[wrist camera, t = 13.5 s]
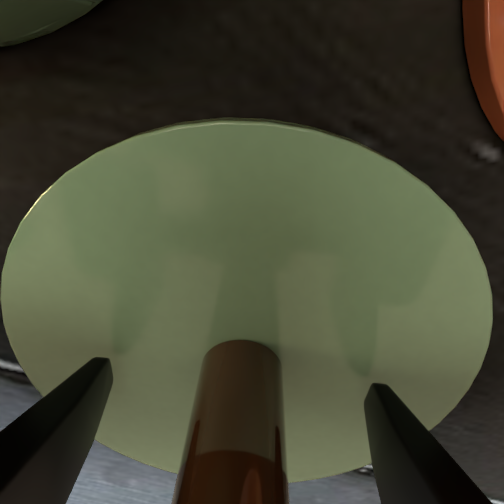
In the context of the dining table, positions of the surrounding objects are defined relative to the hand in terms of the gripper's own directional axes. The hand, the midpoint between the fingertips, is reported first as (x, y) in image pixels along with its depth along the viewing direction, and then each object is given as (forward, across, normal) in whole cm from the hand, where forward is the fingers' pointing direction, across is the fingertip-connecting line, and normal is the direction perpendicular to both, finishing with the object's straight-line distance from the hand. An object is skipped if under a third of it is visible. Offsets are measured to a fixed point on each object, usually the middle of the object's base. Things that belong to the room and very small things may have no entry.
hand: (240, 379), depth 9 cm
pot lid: (+1, 0, 0) cm, 1 cm away
